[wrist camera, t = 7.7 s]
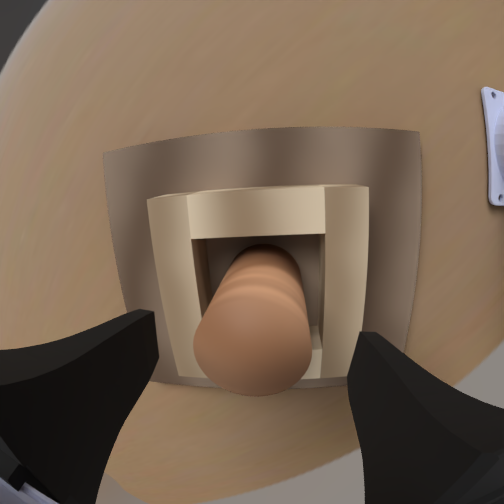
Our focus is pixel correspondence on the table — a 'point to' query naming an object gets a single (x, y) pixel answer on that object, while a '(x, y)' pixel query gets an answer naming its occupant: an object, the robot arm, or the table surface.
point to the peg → (256, 325)
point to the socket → (270, 232)
